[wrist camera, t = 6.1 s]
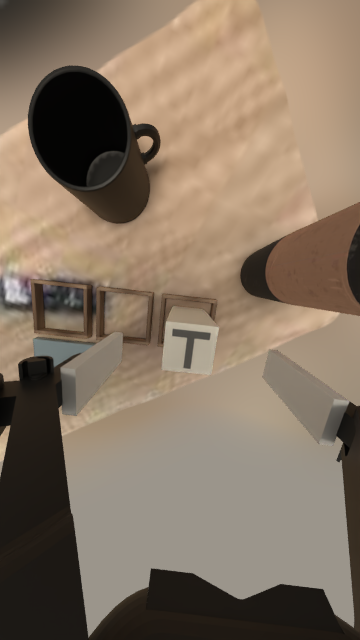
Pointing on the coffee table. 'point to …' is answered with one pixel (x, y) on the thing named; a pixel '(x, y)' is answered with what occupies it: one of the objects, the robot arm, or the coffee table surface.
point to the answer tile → (59, 348)
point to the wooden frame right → (164, 296)
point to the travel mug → (311, 265)
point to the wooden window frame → (100, 315)
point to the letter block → (189, 341)
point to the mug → (91, 142)
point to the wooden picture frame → (39, 309)
